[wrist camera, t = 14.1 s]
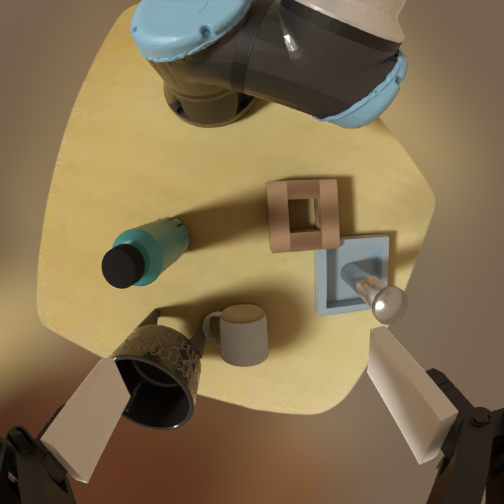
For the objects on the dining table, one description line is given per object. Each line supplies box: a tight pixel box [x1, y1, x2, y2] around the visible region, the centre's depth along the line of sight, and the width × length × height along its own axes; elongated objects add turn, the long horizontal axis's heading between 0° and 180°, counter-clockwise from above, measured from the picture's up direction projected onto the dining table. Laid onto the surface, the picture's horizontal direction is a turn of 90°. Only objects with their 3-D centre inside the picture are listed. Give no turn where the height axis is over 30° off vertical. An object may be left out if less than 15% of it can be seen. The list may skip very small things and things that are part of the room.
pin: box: [340, 262, 408, 325], centre depth 36 cm, size 5×5×15 cm
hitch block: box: [265, 179, 340, 253], centre depth 40 cm, size 10×10×4 cm
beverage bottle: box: [102, 217, 190, 289], centre depth 33 cm, size 6×7×20 cm
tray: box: [314, 234, 389, 316], centre depth 42 cm, size 12×12×3 cm
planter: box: [109, 309, 206, 430], centre depth 37 cm, size 13×13×18 cm
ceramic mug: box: [203, 304, 269, 367], centre depth 42 cm, size 11×8×8 cm
